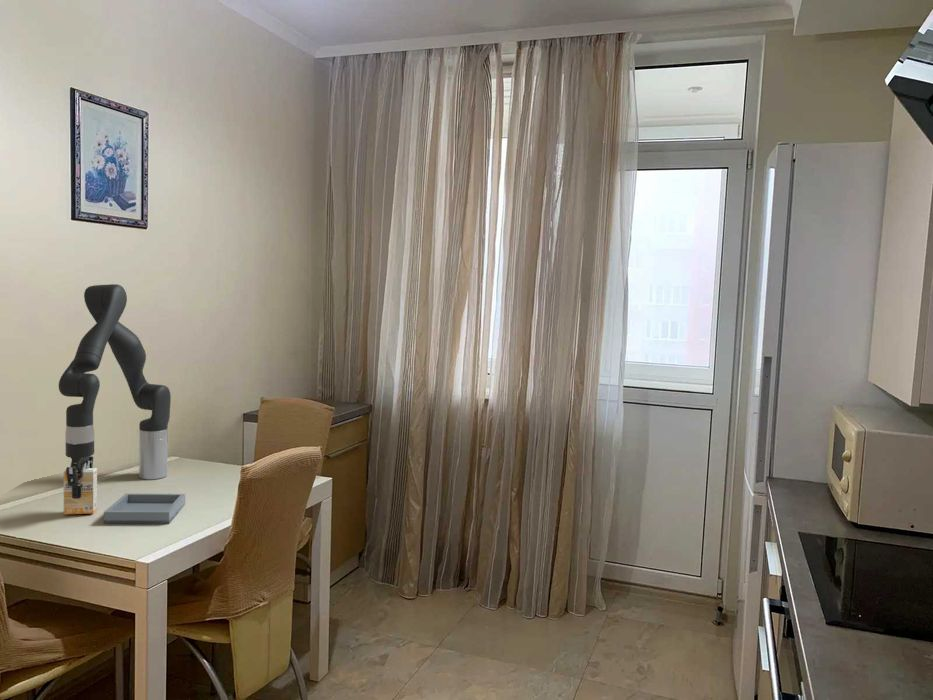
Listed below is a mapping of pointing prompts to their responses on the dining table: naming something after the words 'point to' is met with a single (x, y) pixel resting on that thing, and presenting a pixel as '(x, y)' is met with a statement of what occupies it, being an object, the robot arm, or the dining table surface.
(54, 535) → the dining table surface
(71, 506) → the supplement box
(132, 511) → the tray
